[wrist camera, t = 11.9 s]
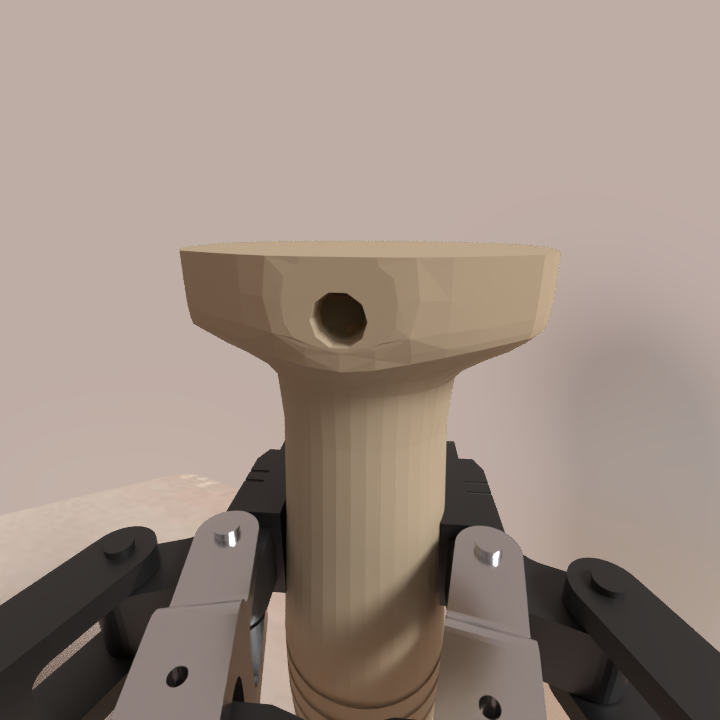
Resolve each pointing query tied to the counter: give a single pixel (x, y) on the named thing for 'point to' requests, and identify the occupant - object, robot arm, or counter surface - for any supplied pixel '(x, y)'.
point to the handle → (367, 435)
